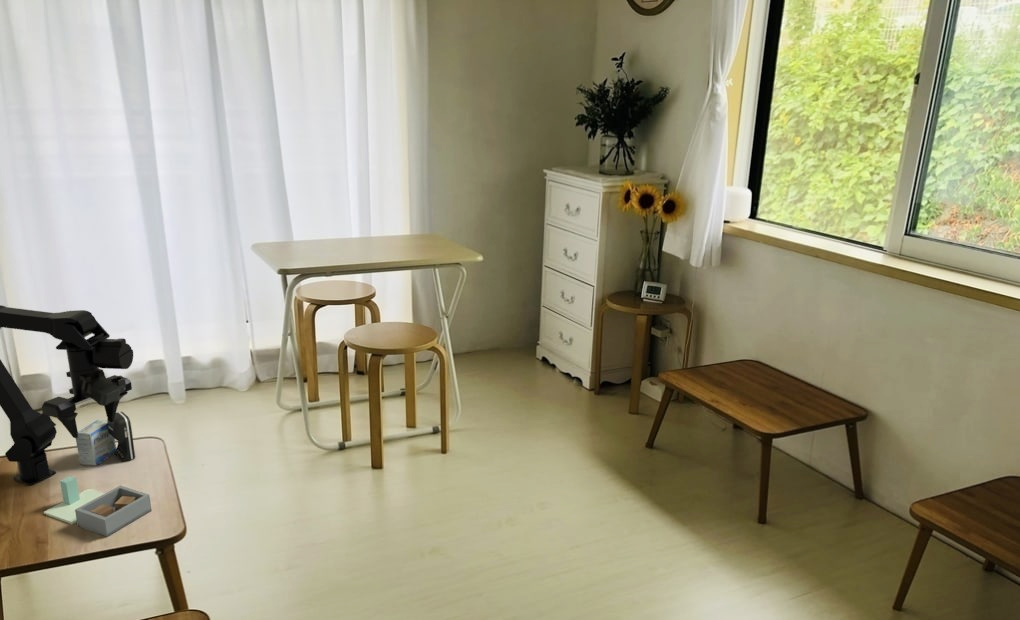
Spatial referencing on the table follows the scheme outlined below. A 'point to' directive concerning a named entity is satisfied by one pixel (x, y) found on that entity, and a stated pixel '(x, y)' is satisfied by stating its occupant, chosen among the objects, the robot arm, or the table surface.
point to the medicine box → (95, 443)
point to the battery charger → (122, 436)
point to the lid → (71, 500)
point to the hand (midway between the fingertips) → (93, 429)
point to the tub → (117, 518)
